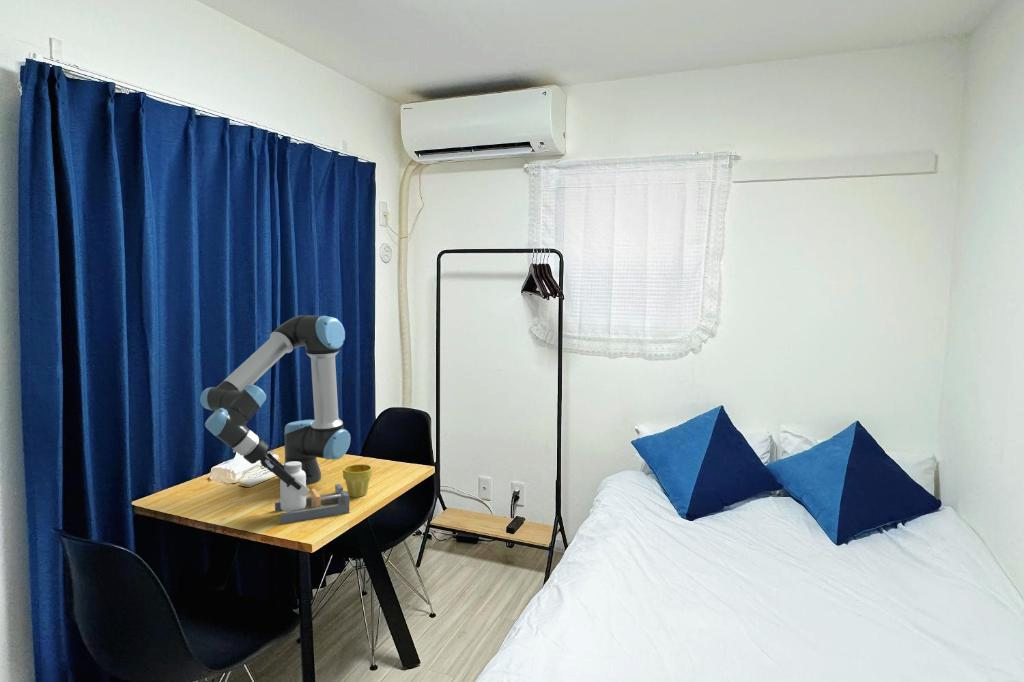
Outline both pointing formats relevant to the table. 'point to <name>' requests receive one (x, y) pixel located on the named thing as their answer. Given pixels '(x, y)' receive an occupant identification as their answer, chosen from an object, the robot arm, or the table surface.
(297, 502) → the pill bottle
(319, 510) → the lane
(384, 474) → the table surface
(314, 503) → the pusher
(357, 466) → the plant pot
